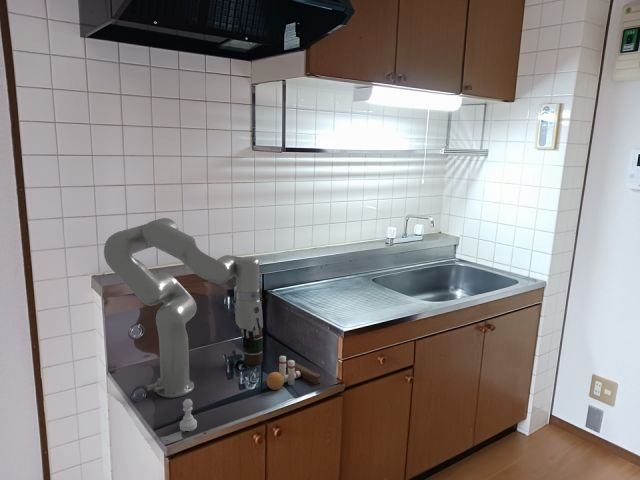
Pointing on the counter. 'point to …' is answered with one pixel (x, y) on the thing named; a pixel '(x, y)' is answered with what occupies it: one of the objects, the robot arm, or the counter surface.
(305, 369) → the back rail
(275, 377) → the ball
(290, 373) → the pin
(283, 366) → the pin
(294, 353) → the counter surface
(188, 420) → the chess pawn
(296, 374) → the front pin
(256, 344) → the beer bottle
